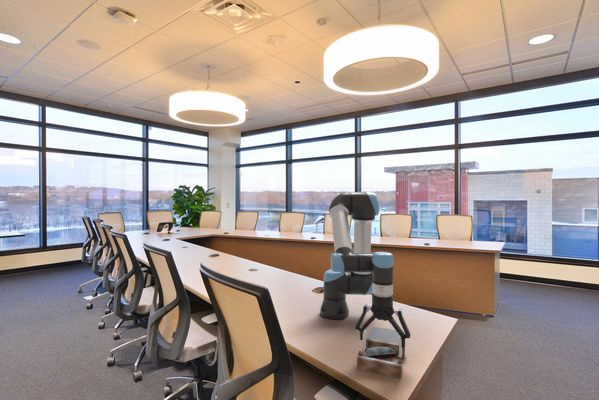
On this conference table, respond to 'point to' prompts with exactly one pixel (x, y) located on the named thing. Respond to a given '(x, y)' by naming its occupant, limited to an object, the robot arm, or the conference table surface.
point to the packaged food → (381, 353)
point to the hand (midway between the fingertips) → (382, 352)
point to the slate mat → (384, 335)
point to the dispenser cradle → (380, 365)
